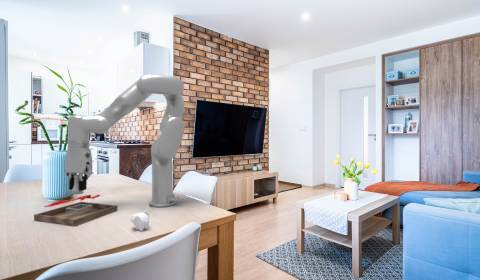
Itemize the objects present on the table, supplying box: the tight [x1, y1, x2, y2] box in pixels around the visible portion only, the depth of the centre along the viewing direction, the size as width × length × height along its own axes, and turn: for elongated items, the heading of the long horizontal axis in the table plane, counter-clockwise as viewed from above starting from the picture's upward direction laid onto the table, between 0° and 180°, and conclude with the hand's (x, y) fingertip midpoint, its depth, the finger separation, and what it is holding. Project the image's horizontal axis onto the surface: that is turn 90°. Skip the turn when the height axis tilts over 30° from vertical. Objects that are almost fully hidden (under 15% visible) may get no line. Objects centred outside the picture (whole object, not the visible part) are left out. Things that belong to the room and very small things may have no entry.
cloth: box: [43, 194, 101, 208], centre depth 128 cm, size 26×14×2 cm, turn 135°
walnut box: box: [33, 201, 119, 227], centre depth 103 cm, size 20×20×3 cm
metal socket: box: [65, 204, 93, 216], centre depth 107 cm, size 7×7×2 cm
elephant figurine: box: [130, 210, 150, 232], centre depth 91 cm, size 7×8×6 cm
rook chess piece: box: [71, 173, 85, 195], centre depth 106 cm, size 4×4×8 cm
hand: (77, 189), depth 106 cm, fingers closed on rook chess piece, 4 cm apart
